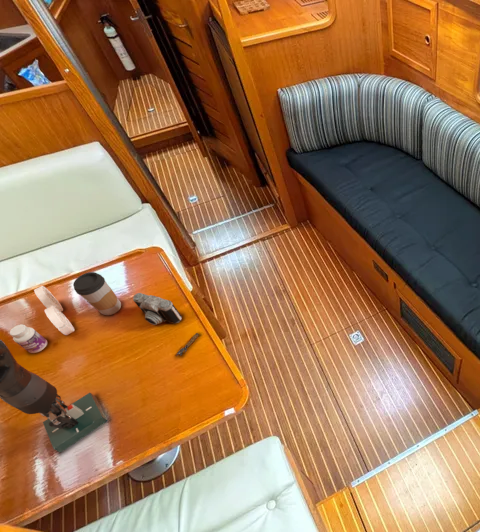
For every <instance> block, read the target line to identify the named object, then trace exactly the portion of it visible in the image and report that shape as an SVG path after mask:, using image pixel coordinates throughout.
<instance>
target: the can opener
mask: <svg viewBox="0 0 480 532" xmlns="http://www.w3.org/2000/svg"><path fill="white" fill-rule="evenodd" d="M199 335H200V334H199V333H198V332H196V333H195V334H194V335H193V336H192V337H191V339H190V340H189V341H188V342H187V343H186V344H185V346H184V347H182V348H180V349H179V350H178V351H177V353H176V356H180V357H181V356H182V355H183V353H186V352H187V350H188V348H189V347H190V346H191V345H192V344H193V342H195V341H196V340H197V338H198V337H199Z"/></svg>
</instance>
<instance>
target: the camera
mask: <svg viewBox="0 0 480 532" xmlns="http://www.w3.org/2000/svg"><path fill="white" fill-rule="evenodd" d="M132 298H133V299H132V301H133V302H134V303H135V305H136V306H137V307H138V308H139V309H140V311H141V312H142V313H143V314H144V320H145V321H146V322H147V323H149V324H151V325H152V326H153V325H154V326H156V325H160V324H162V323H165V322H168V323H171V324H178V323H180V322H181V321H182V317H183V316H182V315H181V312H179V310H178V308H176V306H175V304H173V302H172V301H171V300H170V299H169V300H168V299H165V298H162V297H160V296H156V295H152V294H150V295H148V294H145V293H142V292H137V293H135V294H134V295H133V297H132Z"/></svg>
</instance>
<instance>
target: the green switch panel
mask: <svg viewBox="0 0 480 532" xmlns="http://www.w3.org/2000/svg"><path fill="white" fill-rule="evenodd" d="M72 404H73V405H75V406H76V407H78V408H79V409H81V410H82V411H83V413H84V414H83V415H82V416H80V417H79V418H77V419H76V420H77V421H78V422H79V423H78V424H77V425H76V426H74V427H73V428H68V427H64V428H63V429H59V428H55V427H51V426H50V425H49V423H50V422H51V420H49V419H48V418H47V419H44V421H42V425H43V426H44V430H45V431H46V435H47V436H48V439H49V441H50V444H51V446H52V448H53V450H54V451H56V452H58V453H63V452H64V451H66V450H67V449H69V448H70V447H71V446H73V445H75V444H77V443H78V442H79V441H80V440H82V439H83V438H84V437H86V436H89V434H91V433H93V432H94V431H96V430H97V429H98V428H100V427H101V426H102V425H104V424H106V423H107V422H109V420H108V418H107V416H106V414H105V412H104V409H103V408H102V406H101V403H100V402H99V400H98V398H97V396H96V395H94V394H93V393H92V392H88V393H86V394H85V395H83V396H81V397H80V398H78V399H77V400H75V401H74V402H72V403H71V404H70V405H72ZM70 405H68V406H70Z"/></svg>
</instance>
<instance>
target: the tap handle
mask: <svg viewBox="0 0 480 532" xmlns="http://www.w3.org/2000/svg"><path fill="white" fill-rule="evenodd" d="M71 404H72V403H71ZM71 404H70V406H69V405H67V406H68V407H67V408H65V409H66V411H67V414H68V415H70V416H71V417H73V418H74V419H77V418H79V417H80V416H82V415H83V414H84V413H83V411H82V410H81V409H79V408H78V407H76V406H75V405H73V404H72V405H71ZM62 417H65V416H62Z"/></svg>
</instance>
